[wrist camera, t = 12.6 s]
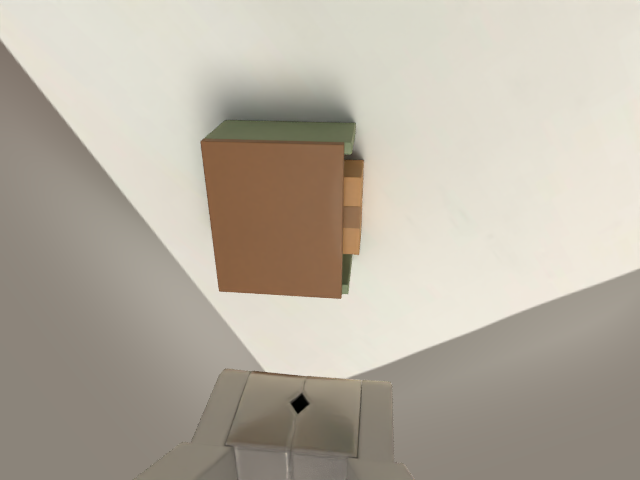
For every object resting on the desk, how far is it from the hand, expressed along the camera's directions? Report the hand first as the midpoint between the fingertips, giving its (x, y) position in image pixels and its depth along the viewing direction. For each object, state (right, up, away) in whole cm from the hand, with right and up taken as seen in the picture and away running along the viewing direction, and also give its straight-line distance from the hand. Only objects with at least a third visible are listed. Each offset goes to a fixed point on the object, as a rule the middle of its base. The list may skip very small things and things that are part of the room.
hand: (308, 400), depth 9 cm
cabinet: (-2, +7, +32) cm, 33 cm away
